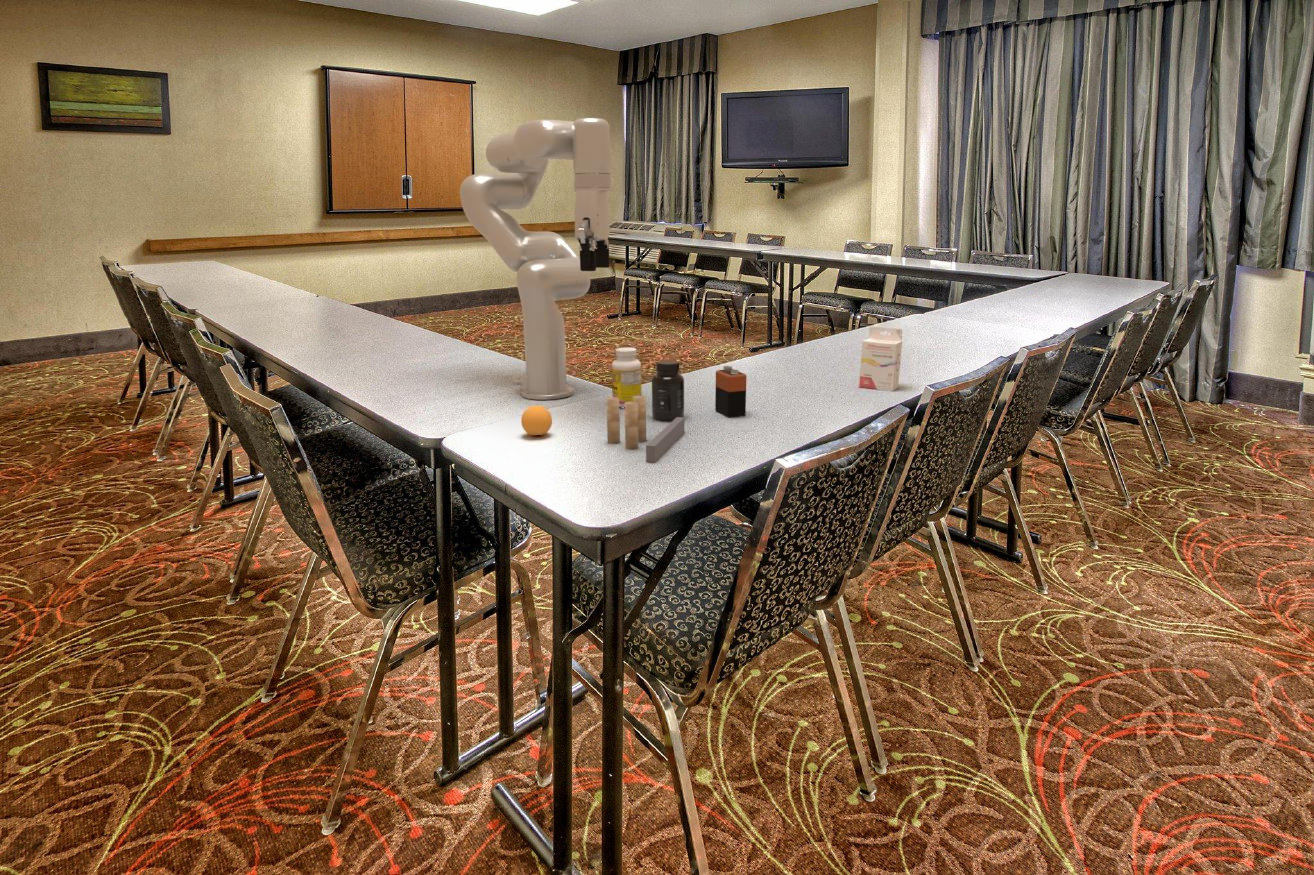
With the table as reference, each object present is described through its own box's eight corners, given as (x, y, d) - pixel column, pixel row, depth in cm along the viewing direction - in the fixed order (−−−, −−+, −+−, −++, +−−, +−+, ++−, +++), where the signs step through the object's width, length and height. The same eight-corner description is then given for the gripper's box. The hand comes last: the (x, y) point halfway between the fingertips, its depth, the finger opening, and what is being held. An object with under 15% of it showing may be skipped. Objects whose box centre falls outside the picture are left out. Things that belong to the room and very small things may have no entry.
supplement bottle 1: (612, 402, 180) (610, 346, 177) (640, 401, 181) (640, 346, 177) (612, 409, 174) (611, 352, 170) (642, 408, 174) (641, 351, 171)
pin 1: (623, 448, 145) (622, 404, 143) (627, 445, 148) (627, 401, 145) (635, 449, 145) (635, 405, 142) (640, 446, 147) (639, 402, 145)
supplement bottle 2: (645, 418, 166) (645, 363, 162) (663, 412, 171) (663, 357, 168) (672, 423, 162) (672, 366, 159) (690, 416, 168) (690, 361, 164)
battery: (732, 409, 174) (733, 364, 171) (746, 416, 167) (747, 370, 165) (714, 410, 172) (714, 366, 169) (728, 418, 166) (729, 371, 163)
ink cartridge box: (858, 387, 193) (862, 328, 189) (864, 384, 197) (868, 325, 193) (892, 391, 188) (897, 330, 184) (898, 388, 192) (903, 328, 188)
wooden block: (605, 443, 149) (604, 399, 147) (610, 439, 151) (609, 396, 149) (617, 444, 148) (616, 400, 146) (621, 440, 151) (620, 397, 148)
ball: (516, 438, 152) (515, 408, 151) (530, 430, 158) (528, 401, 156) (545, 440, 151) (543, 410, 149) (557, 432, 156) (556, 403, 154)
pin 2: (632, 441, 150) (631, 398, 148) (636, 437, 152) (635, 395, 150) (644, 442, 149) (643, 398, 147) (648, 438, 152) (647, 396, 149)
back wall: (646, 461, 138) (646, 445, 137) (676, 431, 156) (676, 417, 155) (654, 462, 137) (654, 446, 137) (684, 432, 156) (684, 417, 155)
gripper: (588, 185, 169) (590, 266, 173) (560, 182, 153) (564, 272, 157) (621, 184, 167) (623, 266, 172) (597, 182, 151) (600, 272, 156)
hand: (595, 269), depth 165 cm, fingers open, 9 cm apart
